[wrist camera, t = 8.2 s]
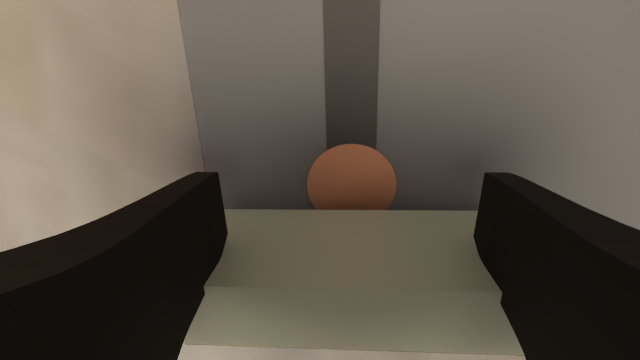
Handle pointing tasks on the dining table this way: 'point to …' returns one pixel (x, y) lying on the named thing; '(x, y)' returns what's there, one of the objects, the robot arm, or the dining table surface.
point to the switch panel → (416, 101)
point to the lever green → (353, 284)
